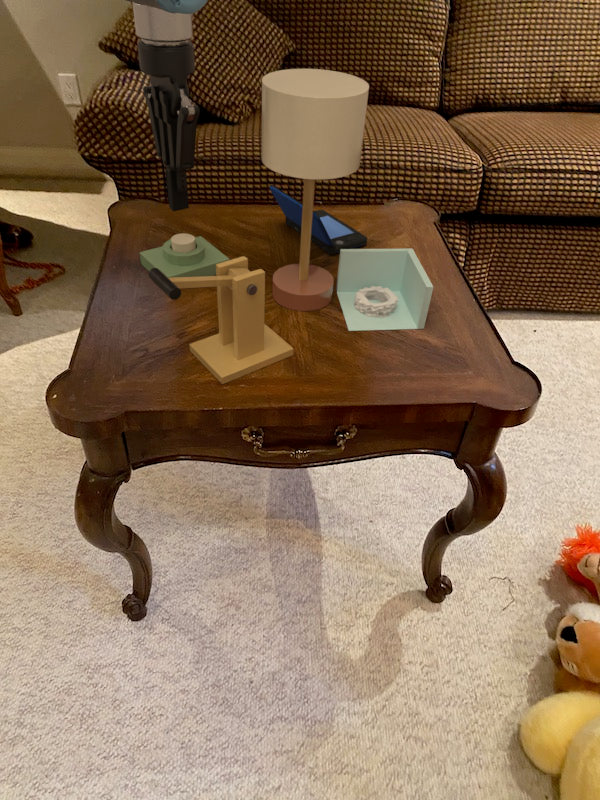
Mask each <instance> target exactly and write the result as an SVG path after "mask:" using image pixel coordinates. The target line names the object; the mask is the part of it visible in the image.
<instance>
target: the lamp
mask: <svg viewBox="0 0 600 800" xmlns="http://www.w3.org/2000/svg"><path fill="white" fill-rule="evenodd" d="M369 93H370V85H369V82H367V81H366V80H364V79H363V78H361V77H358V76H356V75H353V74H350V73H346V72H342V71H335V70H329V69H319V68H289V69H288V68H287V69H279V70H276V71H272V72H269V73H267V74H265V75H264V76H263V77H262V78H261V127H260V128H261V136H260V137H261V138H260V139H261V140H260V141H261V143H260V145H261V146H260V147H261V148H260V149H261V150H260V158H261V163H262V164H263V165H264V166H265V167H266V168H268V169H269V170H270V171H273V172H275V173H277V174H279V175H283V176H287V177H291V178H296V179H302V180H303V190H302V191H303V192H302V204H303V206H302V224H301V234H300V241H299V243H300V244H299V259H298V260H299V262H298V263H291V264H286V265H283V266H281V267H279V268H277V270H275V272H274V273H273V275H272V286H271V288H272V290H271V294H272V298H273V300H274V301H275V303H277V304H278V305H280V306H281V307H283V308H286V309H289V310H292V311H297V312H313V311H317V310H321V309H323V308H325V307H327V306H328V305H329V304H330V303H331V302H332V300H333V294H334V285H335V284H334V283H335V280H334V277H333V275H332V273H330V271H328V270H327V269H325V268H323V267H321V266H318V265H315V264H311V263H310V261H311V260H310V258H311V244H312V241H311V231H312V217H313V211H314V200H315V188H316V187H315V186H316V180H333V179H339V178H343V177H347V176H349V175H352V174H354V173H355V172H357V171H358V170H359V168H360V166H361V162H362V161H361V160H362V153H363V144H364V137H365V136H364V135H365V127H366V119H367V110H368V102H369Z"/></svg>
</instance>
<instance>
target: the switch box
mask: <svg viewBox="0 0 600 800" xmlns="http://www.w3.org/2000/svg"><path fill="white" fill-rule="evenodd" d="M194 237H195V245H196V249H195V250H194V251H191V252H188V253H179V252H175V251H173V250H172V245H171V238H170V239H168V240H167V241H165V242H164V243H162V246H158V247H155V248H151V249H147V250H144V251H139V259H140V264H141V266H143V267H144V269H146V270H147V271H148V272H149V271H150V270H151V269H152V268H158V269H159V270H160V271H161V272H162V273H163V274H164V275H166V276H167V277H168V278H176V277H202V276H216V264H219V263H222V262H225V261H229V260H231V259H230V258H229V257H228V256H226V254H224V253H222V252H221V251H220V250H219V249H218V248H217V247H215V246H214V245H213V244H211V243H210V241H208V240H206V239H205V238H204V237H202V236H201V235H199V236H194Z"/></svg>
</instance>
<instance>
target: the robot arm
mask: <svg viewBox="0 0 600 800" xmlns="http://www.w3.org/2000/svg"><path fill="white" fill-rule="evenodd" d="M126 1H128V2H132V10H133V11H132V12H133V21H134V30H135V35H136V36H137V37H138V38H139V41H138V42H137V51H138V60H139V69H140V71H141V72H142V73H143V74H145V75H146V76H149V78H150V79H149V82H150V85H148V86H147V85H146V86H143V87H142V92H143V95H144V99H145V101H146V105H147V109H148V114H149V120H150V126H151V130H152V136H153V141H154V146H155V151H156V155H157V158H159V159H160V158H161V159H162V163H163V166H164V167H165V174H166V177H165V178H166V185H167V196H168V197H167V198H168V209H170V210H171V211H172V212H177V211H182V210H187V209H189V208H190V206H189V190H188V178H187V170H191V169H194V168H195V157H196V140H197V127H198V125H197V124H198V120H199V116H200V112H201V109H200V107H199V106H198V105H197V104H196V105H193V104H192V103H191V101H190V91H189V86H188V82H187V79H188V77H189V76H192V75H193V74H194V73H195V70H196V61H195V45H194V44H193V42H192V41H190V40H191V39H192V38H193V37H194V30H193V17H194V13H197V12H198V11H200V10H202V8H203V7H204V6H206V4H207V3H208V1H209V0H126Z"/></svg>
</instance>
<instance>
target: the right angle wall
mask: <svg viewBox="0 0 600 800" xmlns="http://www.w3.org/2000/svg"><path fill="white" fill-rule="evenodd" d="M338 257H339V258H338V267H337V277H336V286H335V292H336V295H337V298H338V300H339V304H340V307H341V310H342V314H343V318H344V321H345V323H346V327H347V330H348V332H354V331H355V332H357V331H358V332H359V331H390V330H391V331H392V330H393V331H396V330H397V331H398V330H424V329H425V325H426V321H427V317H428V312H429V308H430V304H431V301H432V295H433V291H434V284H433V283H432V282H431V281H432V280H431V279H430V278H429V276H428V274H427V273H426V270H425V269H424V267H423V265H422V264H421V262H420V259H419V258H418V256H417V254H416V252H415V251H414V248H406V247H405V248H353V249H340V252H339V256H338Z"/></svg>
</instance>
